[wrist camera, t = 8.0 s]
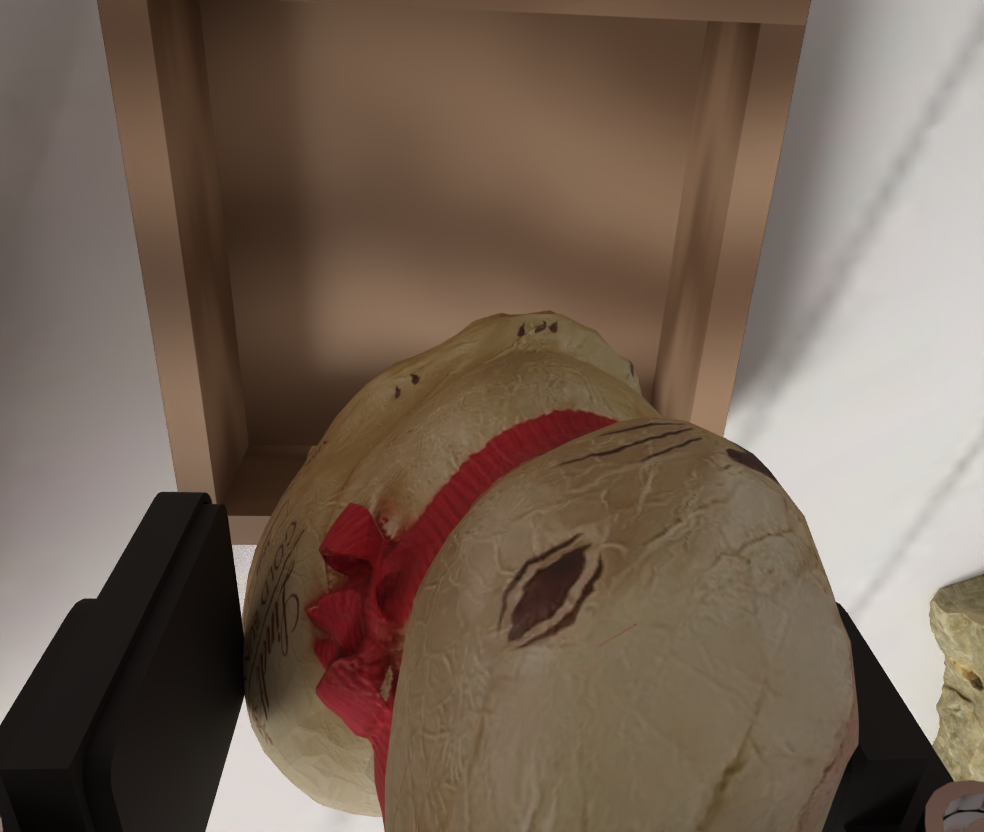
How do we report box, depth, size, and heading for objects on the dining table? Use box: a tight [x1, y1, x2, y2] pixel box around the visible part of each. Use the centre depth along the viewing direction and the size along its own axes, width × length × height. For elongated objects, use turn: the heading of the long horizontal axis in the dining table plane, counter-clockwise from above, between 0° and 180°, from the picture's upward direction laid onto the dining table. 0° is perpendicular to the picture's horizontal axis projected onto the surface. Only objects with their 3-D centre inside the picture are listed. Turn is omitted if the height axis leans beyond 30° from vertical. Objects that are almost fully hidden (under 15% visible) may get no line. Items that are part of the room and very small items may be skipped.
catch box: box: [97, 0, 811, 545], centre depth 22 cm, size 15×15×5 cm
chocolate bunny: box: [242, 310, 859, 832], centre depth 8 cm, size 6×8×10 cm
